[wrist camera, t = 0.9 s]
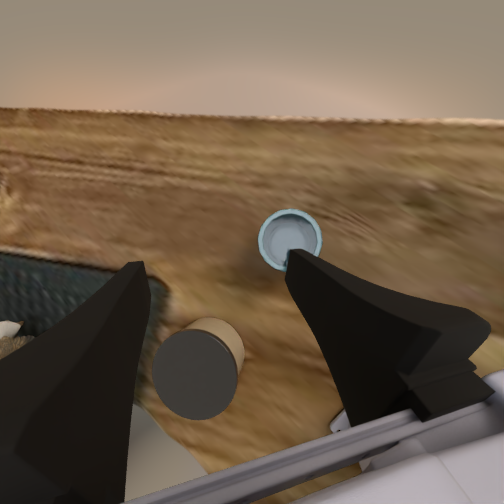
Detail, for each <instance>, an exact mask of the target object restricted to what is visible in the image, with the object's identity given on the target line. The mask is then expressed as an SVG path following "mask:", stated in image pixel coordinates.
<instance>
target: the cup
mask: <svg viewBox="0 0 504 504" xmlns="http://www.w3.org/2000/svg"><path fill="white" fill-rule="evenodd" d="M322 243H323V242H322V233H321V229H320V227H319V226H318V224H317V222H316V220H315V219H314V218H312V217H311V216H310V215H308V214H307V213H306V212H304V211H300V210H296V209H285V210H279V211H277V212H276V213H274V214H272V215H270V216H269V217H268V218H267V219H266V221H265V222H264V223H263V224H262V226H261V228H260V232H259V235H258V246H259V251H260V253H261V255H262V257H263V259H264V260H265V262H267V263H268V264H269V265H270V266H272V267H273V268H274V269H276V270H280V271H283V272H286V270H287V264H288V259H289V253H290V249H300V248H301V249H303V250H305V251H308V252H310V253H311V254H313V255H315V256H317V257H318V255H319V254H320V250H321V247H322Z"/></svg>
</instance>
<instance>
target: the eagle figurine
mask: <svg viewBox="0 0 504 504" xmlns="http://www.w3.org/2000/svg"><path fill="white" fill-rule="evenodd" d="M23 323H24V321H21V322H18V323H14V322H10V321H8V320H6V321H3V322H0V359H2V358H4V357H6V356H7V355H9V354H11V353H12V352H14V351H15V350H17V349H19V348H20V347H22V346H23V345H25V344H26V343H28V342H30V341H31V340H33V339H34V338H36V337H34V336H30V335H28V336H26V337H25V336H22V337H19V336H17V335H18V330H19V329H20V326H22V325H23Z"/></svg>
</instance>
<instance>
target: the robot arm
mask: <svg viewBox="0 0 504 504" xmlns="http://www.w3.org/2000/svg"><path fill="white" fill-rule="evenodd" d="M285 282H286V284H287V287H288V289H289V292H290V294H291V296H292V298H293V300H294V301H295V303H296V305H297V307H298V308H299V310H300V312H301V313H302V315H303V317H304V318H305V320H306V322H307V323H308V325H309V327H310V328H311V330H312V332H313V334H314V336H315V338H316V340H317V342H318V344H319V346H320V349H321V351H322V353H323V355H324V358H325V360H326V362H327V365H328V367H329V369H330V372H331V374H332V377H333V379H334V382H335V384H336V387H337V390H338V392H339V395H340V397H341V400H342V403H343V406H344V410H343V411H342V412H341V413H340V414H339V415H338V416H337V417H336V418H335V419H334V420H333V421H332V422H331V424H330V428H331V431H332V432H333V434H330V435H327V436H324V437H321V438H318V439H315V440H312V441H309V442H306V443H303V444H300V445H297V446H294V447H291V448H288V449H285V450H282V451H279V452H276V453H273V454H270V455H266V456H263V457H260V458H257V459H254V460H251V461H248V462H245V463H242V464H239V465H236V466H233V467H230V468H227V469H224V470H221V471H218V472H215V473H212V474H209V475H206V476H203V477H200V478H196V479H194V480H190V481H187V482H184V483H181V484H178V485H175V486H172V487H169V488H166V489H163V490H160V491H157V492H154V493H151V494H148V495H145V496H142V497H139V498H136V499H133V500H130V501H127V502H124V499H125V498H124V497H125V483H126V471H127V457H128V446H129V435H130V423H131V415H132V406H133V396H134V388H135V380H136V373H137V367H138V362H139V357H140V353H141V349H142V344H143V340H144V336H145V332H146V327H147V323H148V318H149V313H150V302H151V293H150V288H149V284H148V280H147V275H146V271H145V267H144V262H143V261H136V262H128V263H127V264H126V265H125V266H124V267H123V268H121V269H120V270H119V271H118V272H117V273H116V274H115V275H114V276H113V277H112V278H111V279H110V280H109V281H108V282H107V283H106V284H105V285H104V286H103V287H101V288H100V289H99V290H98V291H97V292H96V293H95V294H93V295H92V296H91V297H90V298H89V299H88V300H86V301H85V302H84V303H83V304H82V305H80V306H79V307H78V308H77V309H76V310H74V311H73V312H72V313H70V314H69V315H68V316H66V317H65V318H64V319H62V320H61V321H59V322H58V323H57V324H55V325H54V326H53V327H51V328H50V329H48V330H47V331H45V332H44V333H42V334H41V335H39V336H37V337H36V338H34V339H33V340H31V341H30V342H28V343H26V344H25V345H23V346H22V347H20V348H19V349H17V350H15V351H14V352H12V353H11V354H9V355H7V356H6V357H4V358H2V359H0V504H249V503H251V502H254V501H256V500H259V499H262V498H264V497H267V496H270V495H272V494H275V493H278V492H280V491H283V490H286V489H288V488H291V487H293V486H296V485H299V484H301V483H304V482H307V481H309V480H312V479H315V478H317V477H320V476H322V475H325V474H328V473H330V472H333V471H336V470H338V469H341V468H344V467H346V466H349V465H352V464H354V463H357V462H359V464H360V467H361V469H362V473H361V474H359V475H358V476H356V477H353V478H351V479H348V480H345V481H342V482H339V483H337V484H334V485H332V486H329V487H327V488H324V489H322V490H319V491H317V492H314V493H312V494H309V495H307V496H305V497H302V498H300V499H297V500H295V501H293V502H290V503H288V504H504V369H503V370H500V371H497V372H493V373H490V374H488V375H486V376H484V377H482V378H480V377H479V376H478V375H476V374H475V373H474V372H473V371H474V370H476V369H477V368H476V365H474V364H473V363H472V362H471V361H470V360H469V359H468V358H469V357H470V356H471V355H472V354H473V353H474V352H475V351H476V350H477V349H478V348H479V347H480V346H481V345H482V343H483V342H484V341H485V340H486V339H487V337H488V336H489V334H490V332H491V325H490V324H489V322H487V321H486V320H484V319H483V318H481V317H480V316H478V315H477V314H475V313H474V312H472V311H470V310H468V309H466V308H462V307H457V306H452V305H447V304H442V303H438V302H433V301H429V300H425V299H421V298H417V297H413V296H410V295H406V294H403V293H399V292H396V291H393V290H390V289H387V288H384V287H381V286H379V285H376V284H373V283H371V282H368V281H366V280H363V279H361V278H359V277H356V276H354V275H352V274H350V273H348V272H346V271H344V270H342V269H340V268H338V267H336V266H334V265H332V264H330V263H328V262H326V261H324V260H323V259H321V258H319V257H317V256H315V255H313V254H311V253H310V252H308V251H305V250H303V249H301V248H300V249H290V253H289V259H288V264H287V270H286V275H285ZM337 430H340V431H337Z"/></svg>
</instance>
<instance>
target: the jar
mask: <svg viewBox="0 0 504 504" xmlns="http://www.w3.org/2000/svg"><path fill="white" fill-rule="evenodd" d="M244 357H245V352H244V346H243V342H242V340H241V338H240V336H239V334H238V333H237V332H236V330H235V329H234V328H233V327H232V326H231V325H229V324H228V323H226V322H225V321H223V320H220V319H217V318H212V317H206V318H200V319H197V320H195V321H193V322H192V323H190V324H189V325H188V326H186V327H185V328H184V329H182V330H181V331H179V332H176V333H174V334H173V335H171V336H170V337H169V338H167V339H166V340H165V341H164V342H163V343H162V344H161V345H160V347H159V348H158V350H157V352H156V354H155V357H154V360H153V365H152V377H153V383H154V386H155V389H156V391H157V394H158V395H159V397H160V399H161V400H162V401H163V403H164V404H165V405H166V406H167V407H168V408H169V409H170V410H171V411H173V412H174V413H176V414H177V415H179V416H181V417H184V418H187V419H191V420H205V419H209V418H212V417H215V416H216V415H218V414H220V413H221V412H222V411H224V410H225V409H226V408H227V407H228V405H229V404H230V403H231V401H232V399H233V397H234V394H235V391H236V389H237V384H238V377H239V375H240V372H241V369H242V367H243V364H244Z"/></svg>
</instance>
